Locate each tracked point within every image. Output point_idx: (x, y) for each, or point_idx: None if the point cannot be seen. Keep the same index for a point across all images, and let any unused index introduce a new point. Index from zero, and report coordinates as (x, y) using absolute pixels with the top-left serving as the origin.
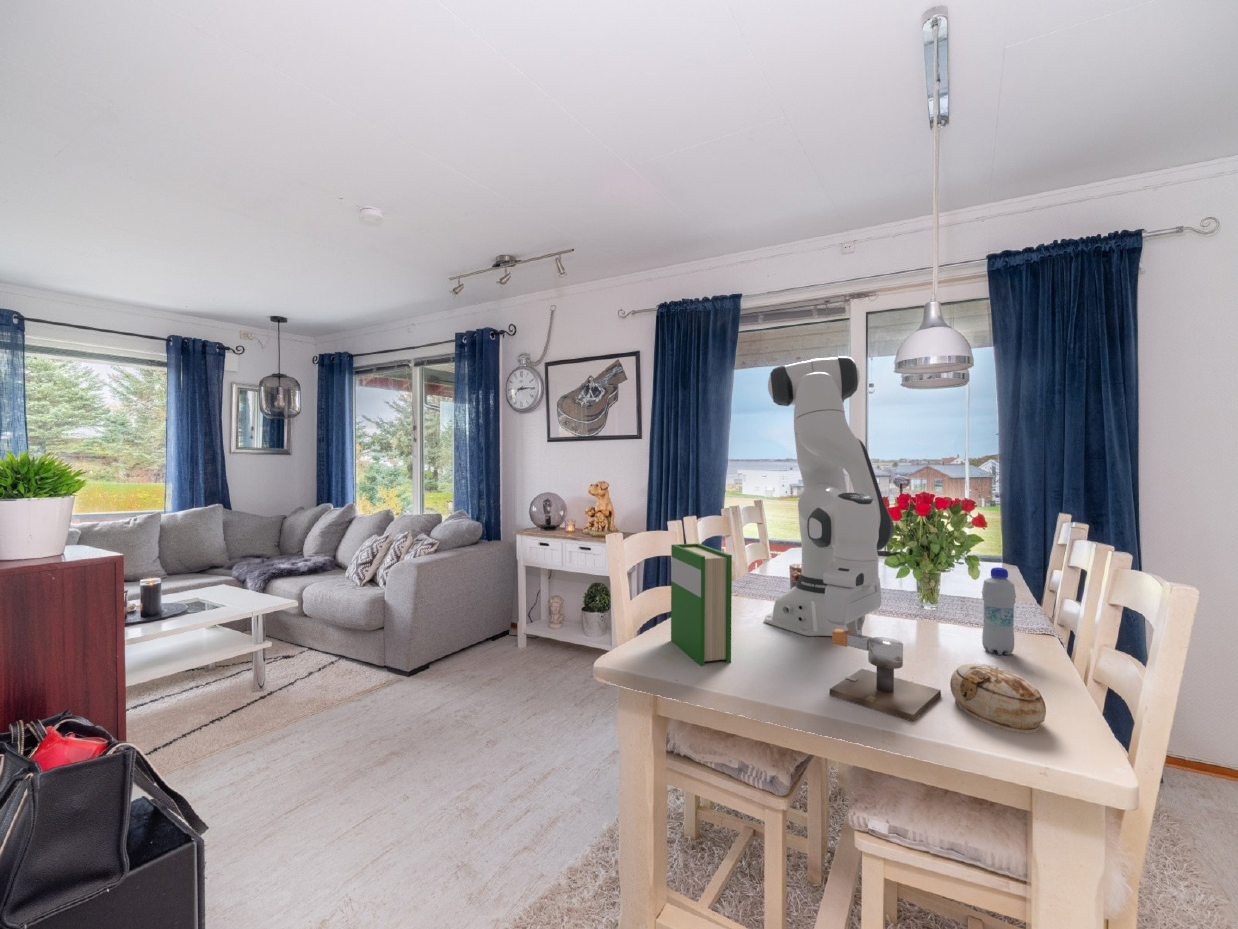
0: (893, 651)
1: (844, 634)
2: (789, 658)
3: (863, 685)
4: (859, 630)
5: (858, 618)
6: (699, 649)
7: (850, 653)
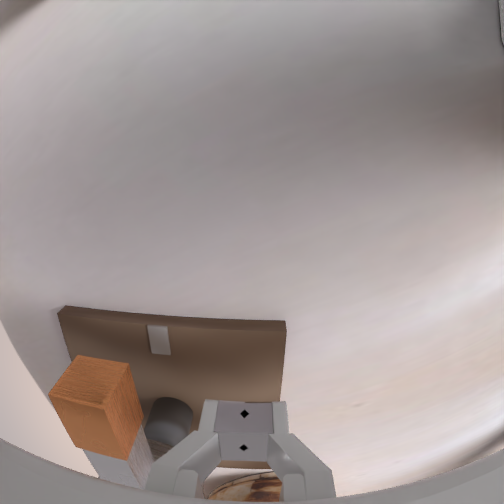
0: None
1: (72, 437)
2: (250, 50)
3: (148, 373)
4: (248, 457)
5: (279, 499)
6: None
7: (461, 213)
